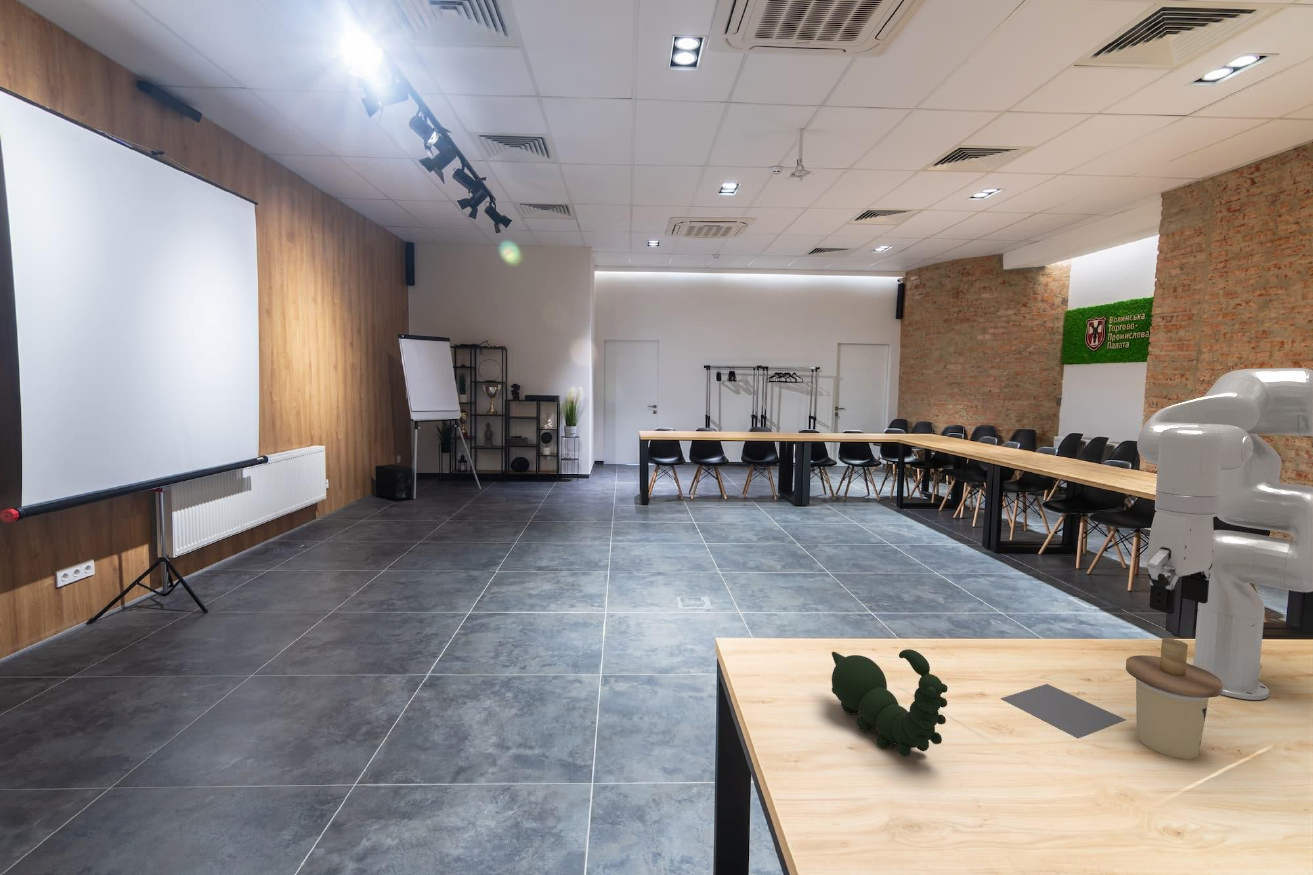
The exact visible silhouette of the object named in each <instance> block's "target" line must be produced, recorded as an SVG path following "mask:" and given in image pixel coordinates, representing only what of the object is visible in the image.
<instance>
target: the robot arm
mask: <svg viewBox="0 0 1313 875" xmlns="http://www.w3.org/2000/svg"><path fill="white" fill-rule="evenodd" d="M1259 435H1270V436H1271V435H1275V436H1276V435H1277V436H1295V437H1297V436H1299V437H1313V369H1310V368H1305V367H1280V368H1277V367H1275V368H1273V367H1272V368H1271V367H1270V368H1269V367H1268V368H1242V369H1235V370H1232V371H1229V372H1227V373H1224V374H1222V375H1221V376H1220V377H1219V378H1218V379H1217V380H1216V381H1215V382H1214V384H1212V386H1211V387H1210V388H1209V390H1208V391H1207V392H1206V393H1205V395H1203V396H1202V397H1201V396H1200V397H1197V398H1193V399H1189V400H1186V401H1183V402H1180V403H1176V404H1172V405H1169V406H1166V407H1163V408H1161V409H1160V410H1157V411H1156V412H1155V413H1154V414H1152V416H1151V417H1150V418H1149V419H1148V420H1147V421H1146V422H1145V424H1144V425H1143V426H1142V428H1141V430H1140V432H1139V434H1138V436H1137V440H1136V441H1137V443H1136V449H1137V452H1138V454H1139V456H1140V458H1141V459H1142V460H1144V461H1145V462H1146V463H1149V464H1153V465H1157V471H1156V486H1155V497H1154V498H1155V500H1154V501H1155V502H1154V510H1155V512H1154V516H1153V520H1152V524H1151V527H1150V531H1149V532H1150V533H1149V539H1148V547H1147V555H1146V567H1147V570H1148V575H1147V576H1148V579H1149V585H1150V591H1149V592H1150V594H1149V608H1150V609H1152V610H1156V611H1159V612H1161V613H1166V614H1168V615H1173V614H1175V613H1176V604H1177V603H1176V602H1177V589H1174V588H1175V585H1176V584H1177V581H1178V580H1179V578H1181V577H1183V582H1182V592H1181V594H1182V595H1181V596H1182V598H1183V599H1185V600H1189V601H1192V602H1196V603H1197V615H1196V625H1195V626H1196V628H1195V638H1194V650H1193V664H1192V665H1194V666H1196V667H1199V668H1201V669H1204V670H1206V671H1208V672H1210V673H1212V674H1213V675H1215V676H1216V677H1218V678H1219V679H1220V680H1221V681H1222V683H1223V689H1222V694H1221V695H1222V696H1225V697H1231V698H1235V699H1241V700H1250V701H1258V700H1261V701H1262V700H1266V699H1268V698H1269V696H1270V689H1269V688H1268V687H1267V685H1265V684H1264V683H1262V682H1261V681H1259V678H1260V670H1261V669H1262V668H1263V665H1262V663H1261V655H1262V654H1261V653H1262V644H1263V632H1264V631H1263V630H1264V623H1265V622H1264V621H1265V613H1266V610H1265V605H1264V602H1263V599H1262V597H1260V595H1259V594H1258V592H1257V591H1256V590H1255V589H1254V587H1253V586H1252V585H1253V584H1255V585H1262V586H1267V587H1273V588H1276V589H1277V588H1278V589H1282V590H1287V591H1292V592H1300V593H1311V592H1313V486H1312V485H1304V484H1294V483H1284V482H1283V483H1282V482H1281V481H1280V476H1281V469H1282V466H1283V465H1282V458H1281V456H1280V455H1279V454H1278V452H1277V451H1276V449H1274V447H1272V445H1271V444H1269V443H1268V442H1267V441H1266V440H1264V439H1263V438H1262V437H1260V436H1259ZM1215 517H1217V518H1218V519H1219V521H1222V522H1224V523H1226V524H1229V525H1231V526H1238V527H1244V528H1250V529H1256V530H1257V529H1258V530H1265V531H1273V532H1280V533H1284V534H1285V533H1286V534H1288V535H1290V536H1292V538H1293V539H1290V538H1284V537H1276V536H1269V535H1262V534H1257V533H1251V532H1246V531H1245V532H1243V531H1238V530H1237V531H1235V530H1226V529H1214V518H1215ZM1167 576H1169V578H1167ZM1251 584H1252V585H1251Z"/></svg>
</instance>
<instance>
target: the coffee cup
mask: <svg viewBox="0 0 1313 875" xmlns="http://www.w3.org/2000/svg"><path fill="white" fill-rule="evenodd" d="M1135 684H1136V685H1135V703H1136V704H1135V706H1136V707H1135V708H1136V715H1135V716H1136V738H1137V739H1138V741H1139V742H1140V743H1142V744H1143V745H1144V746H1146V747H1147V748H1149V749H1151V750H1153V751H1155V752H1157V753H1159V754H1163V755H1166V756H1169V757H1171V758H1172V757H1173V758H1177V759H1183V760H1185V759H1186V760H1190V759H1191V760H1193V759H1196V758H1197V757H1198V756H1199V753H1200V748H1201V744H1202V738H1203V732H1204V727H1205V721H1206V717H1207V716H1206V715H1207V711H1208V704H1209V698H1202V697H1192V696H1186V695H1180V694H1176V693H1172V692H1168V691H1165V690H1162V689H1158V688H1156V687H1153V686H1150V685H1148V684H1146V683H1144V682H1141V681H1139V680H1138V679H1136V678H1135Z"/></svg>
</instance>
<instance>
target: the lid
mask: <svg viewBox="0 0 1313 875" xmlns="http://www.w3.org/2000/svg"><path fill="white" fill-rule="evenodd" d="M1188 649H1189V644H1188V643H1186V642H1184V641H1182V640H1178V639H1174V638H1167V637H1166V638H1162V639H1161V649H1160V656H1156V655H1144V654H1143V655H1142V654H1141V655H1138V654H1137V655H1132V656H1129V657H1128V658H1126V661H1125V671H1126V672H1127V673H1128V674H1129V675H1130V676H1132V677H1133V678H1135V680H1136V679H1138V680H1139V681H1141V682H1144V683H1146V684H1148V685H1150V686H1153V687H1156V688H1158V689H1162V690H1165V691H1168V692H1172V693H1176V694H1180V695H1186V696H1192V697H1202V698H1208V699H1210V698H1217V697H1219V696H1221V695H1222V689H1223V683H1222V681H1221V680H1220V679H1219V678H1218V677H1216V676H1215V675H1213V674H1212V673H1210V672H1208V671H1206V670H1204V669H1201V668H1199V667H1196V666H1194V665H1193V664H1190V663H1188V662H1187V660H1188Z"/></svg>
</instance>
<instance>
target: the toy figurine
mask: <svg viewBox="0 0 1313 875" xmlns="http://www.w3.org/2000/svg"><path fill="white" fill-rule="evenodd" d="M831 657H832V659H833V661H834V665H835V666H834V668H833V671H832V674H831V692H832V693H833V694H832V695H835V696H836V698H837V699H838V700H839V702H840V706H841V708H842V710H843V711H844V712H846V713H847V714H850V715H853V714H858V713H859V717H857V720H856V725H857V727H858V729H859V730H861V731H862V732H864V733H867V732H869V731H871V729H872V728H874V729H876V731H877V732H878V735H877V736H876V739H875V741H876V743H877V745H878V747H879V748H883V749H884V748H885V749H886V748H888V747H889V745H890V744H893V745H896V746H897V747H896V748H897V752H898V754H899V755H900V756H902V757H906V758H907V757H908V756H909V755H911V752H912V749H917V750H918V751H920V752H927V751H928V749H929V747H930V742H929V741H931V743H932V744H933V745H940V744H942V742H943V739H942V735H941V734H940V733H939V732H937V731H936V725H937V724H938V725H944V724H946V722H947V719H946V716H945V715H943V714H941V713H939V710H940V708H943V709H944V708H946V707H947V705H948V700H947V699H946V697H943V696H941V695H943V694H944V693H947V692H948V686H947V685H946V684H945V683H942V680H941V679H940V678H939V677H938V676H936V675H934V674H932V673H930V671H931V669H930V668H931V666H930V663H929V662H928V660H927V659H926V657H925V656H923V654H921V653H920V652H918V651H916V650H914V649H910V648H908V649H907V648H906V649H902V650H901V651H900V652H899V653H898V657H899V659H905V660H906V661H907V662H908V663H909V665H910V666H911V668H912V669H913V670H914V672H915V673H916V674H917V675H918V676H920V677H919V680H918V687H917V689H915V691H914V694H913V697H914V698H913V700H914V701H912V703H911V704H910V706H909V711H908V710H907V709H906V708H905V707H903V706H901V705H899V702H898V699H897V698H896V696H895V695H894V693H892V691H889V690H888V682H887V679H886V675H885V673H884V672H883V670H882V669H881V668H880V666H879V665H878V664H877V663H876V662H875V661H873V660H872V659H871V658H868V657H866V656H863V655H860V654H853V655H852V654H851V655H847V656H844V655H842V654H840V653H838V652H836V651H831Z"/></svg>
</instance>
